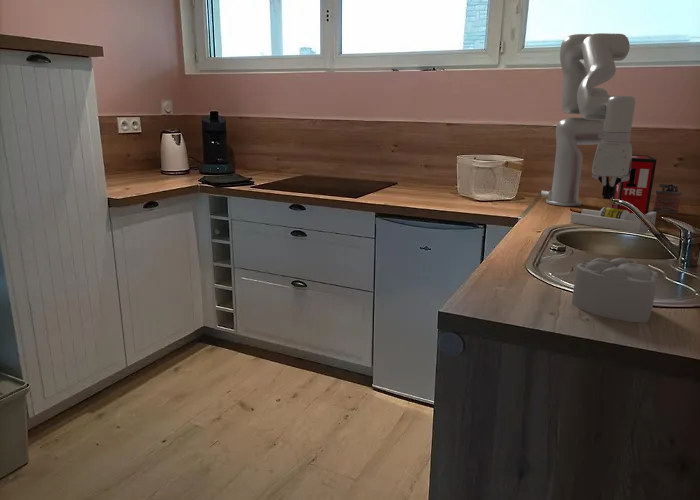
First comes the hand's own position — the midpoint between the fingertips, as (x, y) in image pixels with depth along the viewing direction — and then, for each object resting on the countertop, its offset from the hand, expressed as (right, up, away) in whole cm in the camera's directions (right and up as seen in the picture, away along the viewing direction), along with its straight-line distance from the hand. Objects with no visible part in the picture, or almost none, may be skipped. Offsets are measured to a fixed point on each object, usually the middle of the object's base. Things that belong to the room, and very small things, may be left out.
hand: (607, 198), depth 168 cm
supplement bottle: (-1, -5, +2) cm, 6 cm away
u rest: (+1, -8, +1) cm, 8 cm away
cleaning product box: (+14, -5, +16) cm, 22 cm away
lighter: (+32, -3, +25) cm, 41 cm away
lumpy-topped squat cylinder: (-33, -27, -70) cm, 82 cm away
